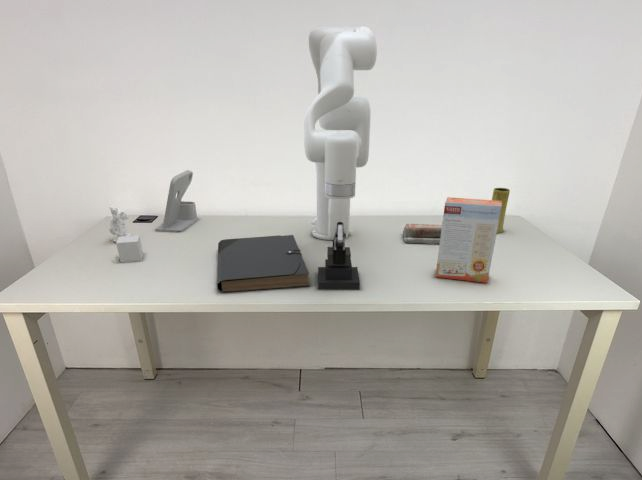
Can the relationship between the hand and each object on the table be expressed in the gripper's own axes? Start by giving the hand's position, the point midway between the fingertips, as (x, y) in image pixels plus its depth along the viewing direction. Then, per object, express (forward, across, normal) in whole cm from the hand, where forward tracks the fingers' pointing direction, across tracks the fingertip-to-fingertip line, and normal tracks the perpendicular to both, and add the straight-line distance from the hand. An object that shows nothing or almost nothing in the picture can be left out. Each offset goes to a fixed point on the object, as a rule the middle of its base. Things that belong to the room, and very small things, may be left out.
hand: (338, 258), depth 125 cm
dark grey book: (+7, -10, -22) cm, 26 cm away
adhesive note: (+7, -18, -62) cm, 65 cm away
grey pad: (+1, 0, 0) cm, 1 cm away
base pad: (+6, 0, 0) cm, 6 cm away
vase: (+6, -46, +57) cm, 73 cm away
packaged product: (+6, -36, +32) cm, 49 cm away
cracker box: (+7, -3, +35) cm, 35 cm away
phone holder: (+6, -53, -57) cm, 78 cm away
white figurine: (+6, -34, -71) cm, 79 cm away
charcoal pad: (+4, 0, 0) cm, 4 cm away
